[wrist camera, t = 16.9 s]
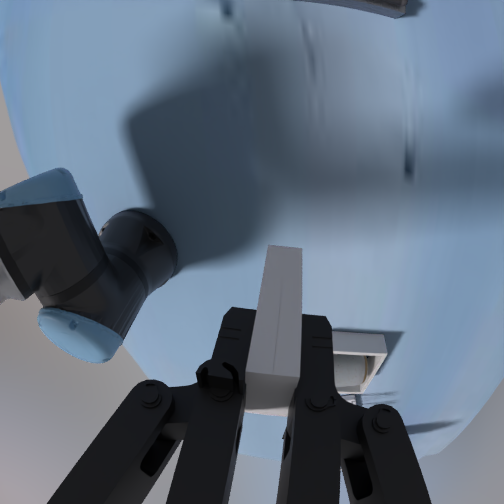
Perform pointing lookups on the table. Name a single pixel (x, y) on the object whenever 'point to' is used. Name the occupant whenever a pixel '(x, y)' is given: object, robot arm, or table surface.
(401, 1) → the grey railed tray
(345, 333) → the mug tray
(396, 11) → the breaker panel
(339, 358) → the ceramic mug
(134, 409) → the robot arm
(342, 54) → the table surface
